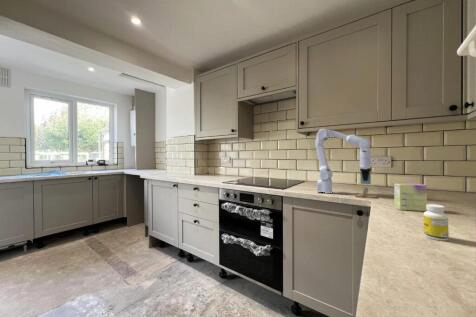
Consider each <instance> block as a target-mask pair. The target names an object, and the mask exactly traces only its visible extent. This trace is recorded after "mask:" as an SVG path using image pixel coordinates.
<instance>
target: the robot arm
mask: <svg viewBox="0 0 476 317" xmlns="http://www.w3.org/2000/svg"><path fill="white" fill-rule="evenodd" d="M334 137H335V138H339V139H341V140H345V141H346V143H347V144H350V145H353V146H356V147H359V167H360V169H359V170H360V172H361V173H362V176H363V180H364V181H368V176H369V173H371V171H372V170H371V167H374V165H372V164H371V144H372V142H371V140H369V139H367V138H364V136H357V134H349V135H347V134H344V133H342V132H340V131H339V132H338V131H335V130H332V129H326V128H320V129H319V130H318V132H317V133H316V136H315V140H314V145H315V149H316V150H315V151H316V154H317V158H318V162H319V177H320V179H317V182H316V190H317V191H316V193H317V192H326V193H325V194H327V193H331V192H332V191H333V179H332V178H333V175H334V174H333V171H331V169H330V168H331V167H330V166H329V163H328V160H327V155H326V150H325V146H324V143H325V142H326V140H327V141H328V139H330V138H334ZM319 190H320V191H319Z"/></svg>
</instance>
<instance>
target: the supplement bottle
mask: <svg viewBox="0 0 476 317" xmlns="http://www.w3.org/2000/svg"><path fill="white" fill-rule="evenodd" d="M426 209H427V211H423V235H424V236H425V237H426V238H428V239H430V238H431V240H435V241H444V242H445V241H449V237H450V235H449V216H448V214H447V213H445V209H446V208H445V206H444V205H441V204H435V203H429V204H428V203H427V205H426Z"/></svg>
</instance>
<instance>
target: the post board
mask: <svg viewBox="0 0 476 317" xmlns="http://www.w3.org/2000/svg"><path fill="white" fill-rule="evenodd" d="M354 196H355V198H363V199H375V200H376V199H378V197H377V194H376V193H369V187H362V192H360V193H359V192H355V195H354Z"/></svg>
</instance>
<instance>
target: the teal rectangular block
mask: <svg viewBox="0 0 476 317" xmlns="http://www.w3.org/2000/svg"><path fill="white" fill-rule="evenodd" d="M371 177H372V176H371V172H370V173H369V176H368V181H364V180H363V176H362V173H361V171H360V184H362V185H371V180H372V179H371Z"/></svg>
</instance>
